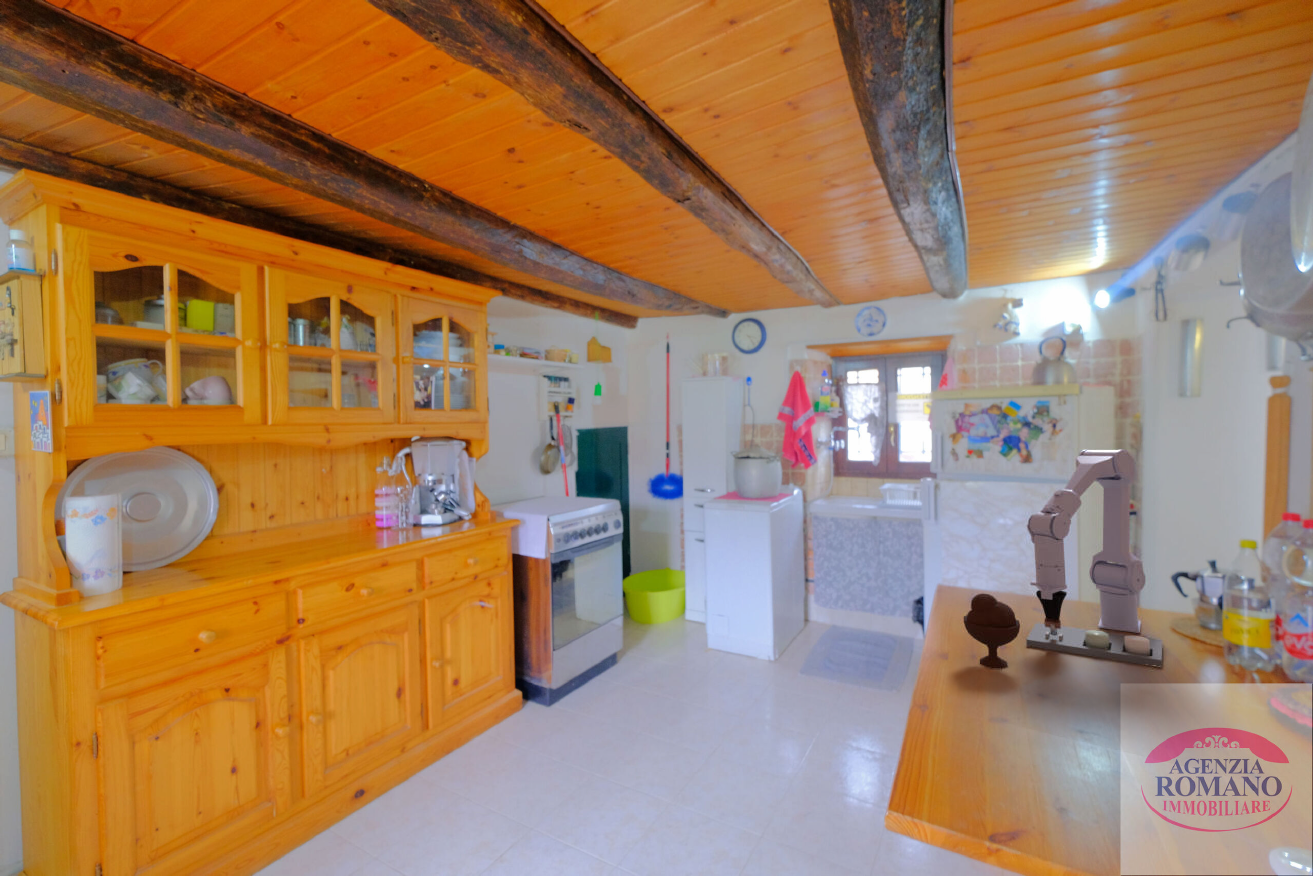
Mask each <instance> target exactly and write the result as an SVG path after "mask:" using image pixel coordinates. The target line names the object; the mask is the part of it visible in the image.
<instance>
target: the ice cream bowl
mask: <svg viewBox="0 0 1313 876" xmlns="http://www.w3.org/2000/svg"><path fill="white" fill-rule="evenodd" d="M970 609H971V610H969V611H968V612H967V614H966V615H964V616H963V623H964V627H965V630H966V631H967V634H969V635H970V636H971V637H972V638H973V639H975V640H976V641H977V642H979V643H981V644H983V645H985V646H987V649H988V650H987V651H988V655H986V656H984V657H981V658H980V659H979V665H981V664H982V665H981V666H983V665H984V666H983V667H985V666H986V667H985V668H988V667H990V668H989V669H993V668H998V670H1000V669H999V668H1001V670H1003V669H1002V668H1004V669H1005V668H1009V666H1008V663H1007V660H1005V659H1003V658H1001V657H1000V656H999V655H998V648H999V647H1002V646H1005V645H1008V644H1010V643H1011V642H1012V641H1014V640H1015V639H1016V638H1017V637H1018V636H1019V633H1020V627H1021V625H1020V621H1019V620H1018V619H1016V614H1015V612H1014V610H1013V609H1012V608H1011V607H1010V606H1009V605H1008V604H1006V603H1003V602H1001V601H998V600H997V598H996V597H994V596H993V595H991V594H990V593H983V592H982V593H979V594H978V593H977V594H976V595H975V596H974V597H972V599H971V602H970Z"/></svg>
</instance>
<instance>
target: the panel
mask: <svg viewBox="0 0 1313 876" xmlns="http://www.w3.org/2000/svg"><path fill="white" fill-rule="evenodd" d="M1087 630H1088V629H1086V628H1078V627H1072V626H1065V625H1061V629H1057V633H1058V634H1057V635H1056V636H1053V635H1051V634H1050V627H1045V623H1042V622H1035V624H1034V626H1033V627H1032V629H1031V631H1030V632H1029V634H1028V636H1027V638H1026V639H1025V640H1026V647H1031V646H1032V647H1031V648H1038V649H1045V650H1051V651H1055V652H1063V653H1068V654H1075V655H1081V656H1089V657H1095V658H1100V659H1107V660H1114V661H1118V662H1125V663H1132V664H1137V665H1143V664H1148V665H1147V666H1150V665H1156V666H1162V667H1163V640H1162V639H1159V638H1152V637H1145V636H1143V637H1144V638H1147V639H1149V642H1150V655H1139V654H1133V653H1128V652H1126V651H1125V639H1124V637H1125V636H1132V635H1128V634H1123V633H1115V632H1108V631H1104V632H1105V633H1107V634H1108V638H1109V648H1108V649H1100V648H1093V647H1088V646H1086V641H1085V631H1087ZM1151 655H1152V656H1151ZM1156 666H1155V667H1156Z"/></svg>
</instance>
